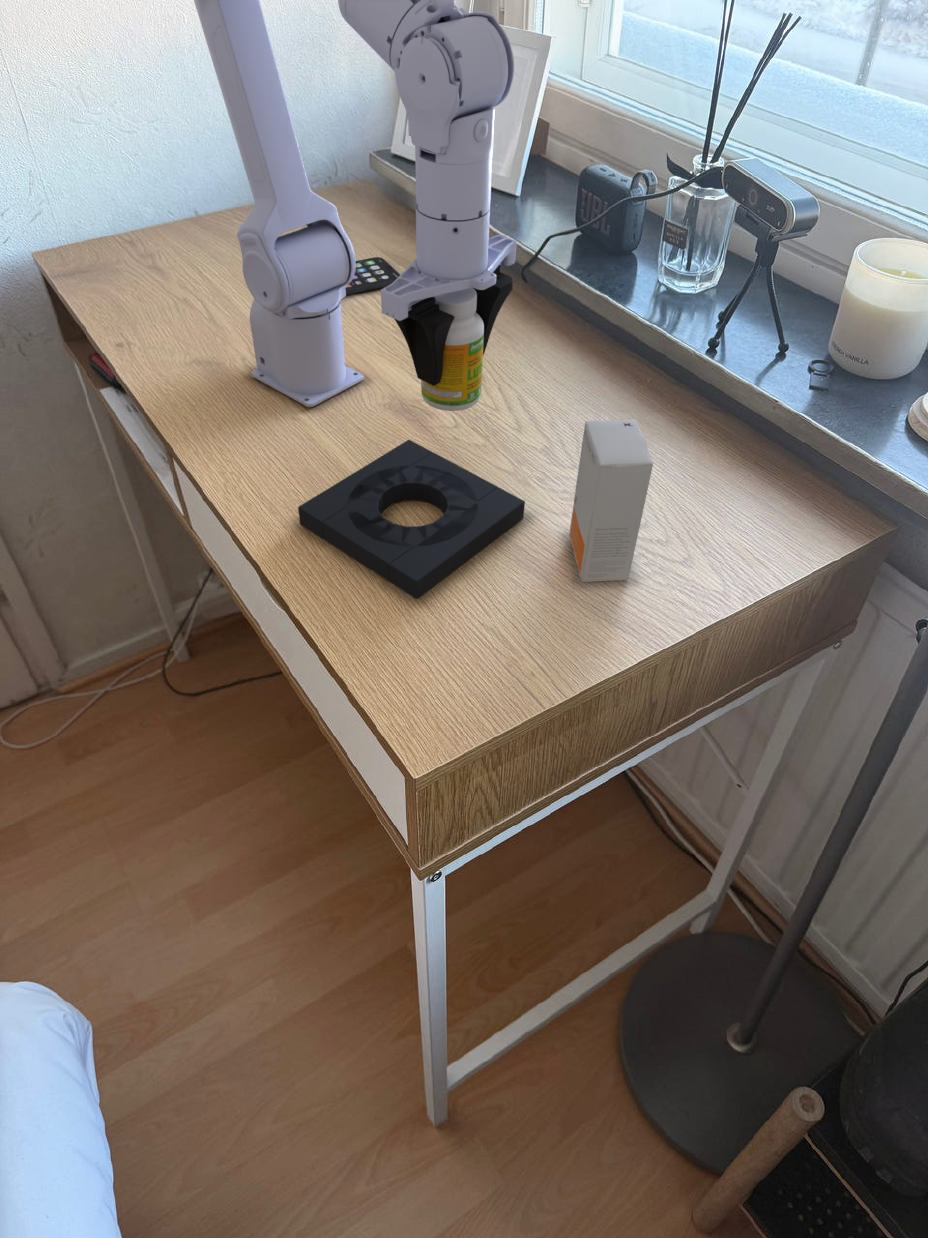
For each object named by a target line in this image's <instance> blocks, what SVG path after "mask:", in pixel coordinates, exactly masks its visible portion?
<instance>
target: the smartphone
mask: <svg viewBox="0 0 928 1238" xmlns="http://www.w3.org/2000/svg"><path fill="white" fill-rule="evenodd" d="M355 262H356V268H355V274H354V277H353V279H352V281H351V282H350V283H349V284H347V285H345V290H346V296H347V295H352V294H356V293H360V292H361V293H363V292H366V291H372V290H376V289H381V288H385V287H387V286H389V285H390V284H392V283H393V282H394V281H395V280H396V279H397V278H398V277H399V276H400V275H401V274H400V273H399V272H398V271H397V270H396V269H395V268H394V267H393V266H392V265H391V264H390V263H389V262H388V261H387V260H385V258H383V257H380V256H374V257H370V258H365V259H359V260H355Z"/></svg>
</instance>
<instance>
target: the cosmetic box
mask: <svg viewBox="0 0 928 1238" xmlns="http://www.w3.org/2000/svg"><path fill="white" fill-rule="evenodd" d="M580 449H581V450H580V457H579V463H578V470H577V476H576V484H575V492H574V500H573V506H572V513H571V521H570V527H569V533H568V538H569V540H570V544H571V547H572V551H573V555H574V558H575V562H576V563H575V564H576V566H577V567H576V568H577V572H578V576H579V580H580V582H582V583H591V582H593V583H594V582H609V581H610V582H614V581H628V580H629V578H630V573H631V569H632V565H633V559H634V555H635V550H636V545H637V541H638V536H639V531H640V528H641V523H642V517H643V513H644V510H645V509H644V508H645V504H646V499H647V495H648V491H649V490H648V489H649V486H650V479H651V475H652V472H653V471H652V470H653V467H654V462H653V460H652V457H651V454H650V452H649V450H648V446H647V442H646V439H645V437H644V436H643V433H642V431H641V429H640V426H639V424H638V421H637V420H636V419H606V420H605V419H604V420H602V419H600V420H586V421H585V422H584V428H583V436H582V442H581V448H580Z"/></svg>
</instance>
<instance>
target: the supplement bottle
mask: <svg viewBox="0 0 928 1238" xmlns="http://www.w3.org/2000/svg"><path fill="white" fill-rule="evenodd" d="M435 304H436V305H437V304H439V310H441V311H444V312H446V313H449V314H451V315H453V316H454V317H455V318H454V320H453V322H452V324H451V326H450V329H449V332H448V335H447V339H446V343H445V348H444V356H443V370H442V376H441V380H440V383H439V384H437V385H435V386H433V385H431V384H429V383H427V382H425V381H423V380H421V379H420V388H421V389H420V392H421V397H422V399H423V400H424V402H425V403H426V404H427V405H429V406H430V407H431V408H432V407H433V408H434V409H436V410H440V411H445V412H447V411H448V412H457V411H464V410H467V409H470V408H472V407H473V406H475V405H476V404H477V403H478V402H479V401H480V399H481V396H482V383H483V361H484V355H483V341H484V323H483V320H482V319H481V317H480V316H479V315H478V314H477V313H476V306H477V293H476V291H475V290H474V289H473V288H469V289H465V290H461V291H456V292H452V293H448V294H443V295H440V296H438V297H436V298H435Z"/></svg>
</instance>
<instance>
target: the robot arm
mask: <svg viewBox="0 0 928 1238" xmlns="http://www.w3.org/2000/svg"><path fill="white" fill-rule="evenodd" d="M193 2H194V5H195V9H196V11H197V16H198V19H199V21H200V22H199V23H200V25H201V28H202V32H203V35H204V39H205V42H206V45H207V49H208V51H209V56H210V58H211V62H212V64H213V68H214V72H215V75H216V79H217V82H218V85H219V88H220V92H221V95H222V98H223V101H224V105H225V107H226V110H227V115H228V118H229V121H230V124H231V129H232V132H233V134H234V137H235V142H236V144H237V148H238V151H239V154H240V157H241V161H242V164H243V167H244V171H245V174H246V177H247V180H248V184H249V188H250V191H251V194H252V197H253V202H254V203H253V205H252V207H251V209H250V210H249V212H248V214H247V215H246V216H245V218H244V220H243V221H242V223H241V224H240V226H239V227H238V230H237V232H236V236H237V239H238V243H239V246H240V251H241V257H242V259H241V260H242V275H243V278H244V282H245V284H246V287H247V289H248V291H249V293H250V295H251V296H252V298H253V300H252V303H251V306H250V309H249V310H250V311H249V325H250V330H251V337H252V338H251V339H252V345H253V350H254V357H255V362H256V369H253V370H252V371H251V372H250V374H251V377H252V378H254V379H255V380H258V381H260V382H261V383H263V384H265V385H267V386H269V387H270V388H272V389H274V390H275V391H278V392H280V393H282V394H283V395H285V396H287V397H289V398H290V399H292V400H294V401H296V402H298V403H299V404H301V405H303V406H305V407H307V408H313V407H315V406H317V405H319V404H321V403H323V402H324V401H326V400H328V399H330V398H332V397H334V396H336V395H337V394H340V393H342V392H343V391H345V390H347V389H349V388H351V387H353V386H354V385H357V384H358V383H360V382H362V381H363V380H364V378H365V377H364V374H363V373H361V372H359V371H357V370H355V369H353V368H351V367H349V366H347V365H346V357H345V345H344V332H343V319H342V305H341V300H342V299H344V298H345V297H347V295H346V290H345V285H347V284H349V283H350V282H351V281H352V279H353V277H354V274H355V268H356V262H355V261H356V254H355V249H354V247H353V243H352V242H351V240H350V238H349V236H348V234H347V233H346V231H345V229H344V227H343V225H342V223H341V220H340V216H339V214H338V209H337V206H335V205H334V204H333V203H332V202H330V201H329V200H328V199H325V198H324V197H322V196H320V195H318V194H317V193H315V192H314V191H312V189H311V187H310V183H309V180H308V177H307V173H306V169H305V165H304V162H303V157H302V154H301V151H300V147H299V142H298V140H297V136H296V135H297V134H296V132H295V128H294V124H293V120H292V117H291V114H290V110H289V106H288V101H287V99H286V95H285V91H284V88H283V84H282V79H281V75H280V72H279V68H278V65H277V61H276V57H275V54H274V50H273V46H272V43H271V40H270V39H271V38H270V35H269V31H268V28H267V24H266V21H265V16H264V13H263V9H262V6H261V1H260V0H193ZM337 4H338V9H339V12H340V15H341V17H342V19H343V20H344V21H345V22H346V23H347V24H348V25H349V27H351V28H352V29H353V31H355V32H356V34H357V35H359V36H360V38H361V39H362V40H363V41H364V42H365V43H366V44H367V45H368V46H369V47H370V48H371V49H372V50H373V51H374V52H375V53H376V54H377V56H379V57H380V58H381V60H383V62H385V63H386V64H387V65H388V66H389V67H390V68H391V70H393V71H394V75H395V83H396V89H397V91H398V94H399V97H400V100H401V102H402V105H403V107H404V110H405V112H406V116H407V123H408V136H409V137H410V139H411V144H412V145H413V146H414V151H415V152H414V154H415V155H414V156H415V157H414V159H415V160H414V161H415V164H414V165H415V238H416V239H415V241H416V242H415V243H416V244H415V245H416V251H415V253H416V256H415V257H416V259H414V261H412V262H411V264H410V265H409V266H408V267H407V268H406V269H405V270H404V271H402V273H401V274H400V276H399V277H398V278H397V279H396V280H395V281H394V282H393V283H392V284H390V285H389V286H385V287H382V289H381V288H380V300H381V302H380V304H381V314H383V315H385V316H387V317H389V318H391V319H393V320H394V321H395V323H396V325H397V326H398V328H399V330H400V331H401V333H402V335H403V338H404V339H405V342H406V344H407V347H408V350H409V353H410V355H411V359H412V363H413V366H414V369H415V373H416V378H417V379H419V380H420V381H421V380H423V381H425V382H427V383H429V384H431V385H433V386H435V385H437V384H439V383H440V380H441V376H442V370H443V356H444V348H445V343H446V339H447V335H448V332H449V329H450V326H451V324H452V322H453V320H454V318H455V317H454V316H453V315H451V314H449V313H446V312H444V311H441V310H439V304H437V305H436V304H435V298H436V297H438V296H440V295H443V294H448V293H452V292H456V291H461V290H465V289H469V288H473V289H474V290H475V291H476V293H477V306H476V313H477V314H478V315H479V316H480V317H481V319H482V320H483V323H484V341H483V356H484V355H485V352H486V350H487V347H488V343H489V339H490V337H491V333H492V331H493V327H494V325H495V322H496V320H497V317H498V315H499V313H500V311H501V308H502V307H503V305H504V303H505V302H506V300H507V298H508V297H509V295H510V294H511V292H512V291H513V289H514V278H513V277H512V276H511V275H508V274H506V273H503V272H501V266H504V267H510V266H512V265H514V264H515V263H516V255H517V240H515V239H513V238H510V237H507V236H505V235H501V234H496V235H494V236H492V237H490V223H491V221H490V218H491V200H492V199H491V196H492V176H493V154H494V136H495V135H494V134H495V114H496V108H495V107H497V106H499V105H500V104H502V103H503V102H504V101H505V100H506V98H507V97H508V95H509V93H510V91H511V88H512V85H513V82H514V76H515V58H514V53H513V47H512V45H511V42H510V39H509V37H508V35H507V32H506V31H505V30H504V29H503V27H502V26H501V25H500V23H499V21H498V20H497V18H496V17H495V16H494V15H493V14H492V13H490V12H487V11H482V10H481V11H474V12H469V11H468V12H467V11H466V10H465V9H464V8H463V7H461V8H458V7H457V6H456V0H337ZM304 226H305V227H304ZM302 227H303V228H302ZM297 228H300V229H298V230H295V229H297ZM292 230H295V231H292ZM290 231H292V232H290ZM287 232H289V233H287ZM284 233H286V234H284ZM282 234H283V235H282Z"/></svg>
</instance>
